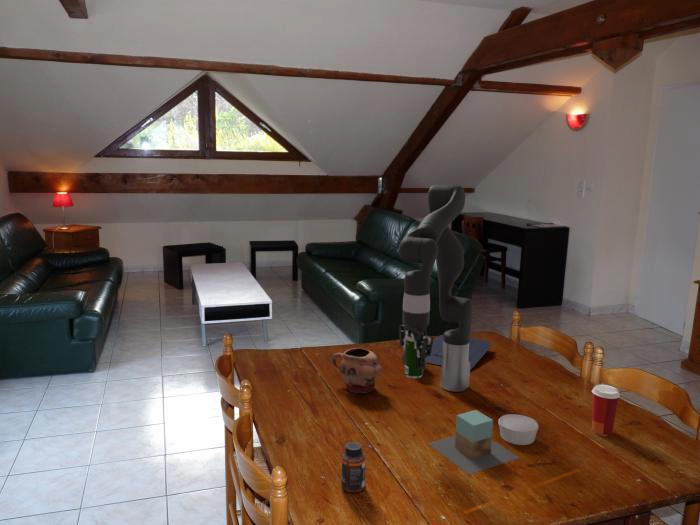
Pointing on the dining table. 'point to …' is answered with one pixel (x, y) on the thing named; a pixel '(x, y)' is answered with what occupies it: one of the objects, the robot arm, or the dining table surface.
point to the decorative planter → (358, 369)
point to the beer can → (411, 358)
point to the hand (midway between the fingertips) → (414, 365)
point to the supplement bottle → (353, 468)
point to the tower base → (473, 446)
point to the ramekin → (518, 429)
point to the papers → (475, 351)
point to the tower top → (474, 426)
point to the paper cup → (604, 408)
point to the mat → (476, 464)
